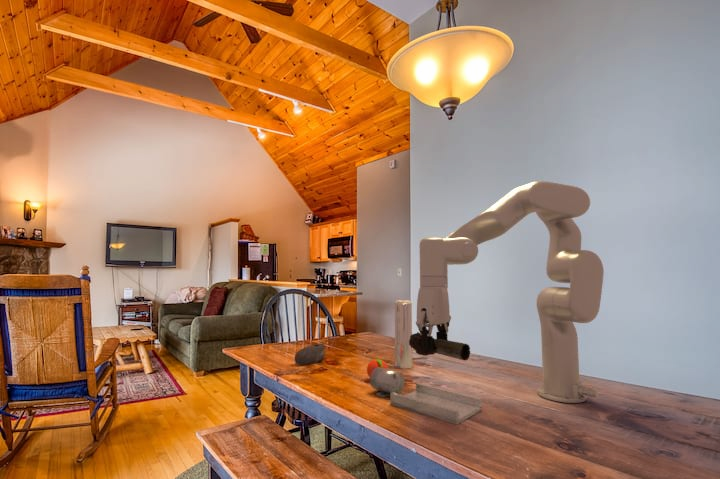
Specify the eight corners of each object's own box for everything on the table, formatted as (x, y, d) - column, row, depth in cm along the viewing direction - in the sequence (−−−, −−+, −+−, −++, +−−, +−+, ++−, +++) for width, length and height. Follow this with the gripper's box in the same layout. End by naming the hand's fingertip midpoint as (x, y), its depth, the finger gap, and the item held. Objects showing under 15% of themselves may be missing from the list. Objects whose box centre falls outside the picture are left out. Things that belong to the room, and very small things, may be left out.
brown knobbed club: (471, 359, 98) (470, 337, 99) (457, 364, 94) (456, 341, 94) (416, 348, 111) (416, 329, 112) (401, 352, 106) (401, 332, 107)
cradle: (481, 409, 100) (481, 398, 100) (456, 424, 90) (456, 411, 90) (418, 393, 113) (418, 382, 113) (390, 404, 103) (390, 393, 104)
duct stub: (405, 393, 113) (405, 369, 113) (390, 399, 107) (390, 374, 108) (384, 388, 118) (384, 365, 119) (369, 393, 113) (369, 369, 113)
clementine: (392, 383, 123) (392, 360, 124) (373, 385, 121) (373, 362, 121) (382, 376, 131) (382, 355, 131) (363, 378, 128) (363, 357, 129)
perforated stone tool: (298, 368, 142) (298, 349, 143) (290, 365, 146) (290, 347, 147) (329, 361, 153) (329, 343, 153) (320, 359, 157) (321, 342, 157)
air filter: (392, 365, 146) (392, 300, 149) (407, 364, 148) (407, 299, 150) (399, 369, 140) (398, 301, 142) (415, 368, 142) (414, 300, 144)
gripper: (438, 281, 113) (439, 342, 112) (403, 283, 101) (404, 352, 99) (461, 282, 108) (463, 346, 107) (427, 283, 95) (429, 356, 94)
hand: (434, 348), depth 103 cm, fingers closed on brown knobbed club, 6 cm apart
